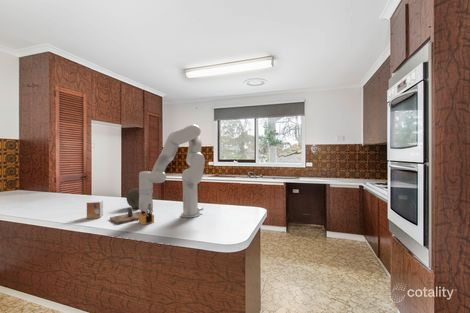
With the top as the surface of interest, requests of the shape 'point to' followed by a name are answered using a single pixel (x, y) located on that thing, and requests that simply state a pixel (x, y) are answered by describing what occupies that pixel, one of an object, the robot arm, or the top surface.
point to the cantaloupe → (133, 197)
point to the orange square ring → (144, 219)
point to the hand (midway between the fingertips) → (146, 220)
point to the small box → (94, 209)
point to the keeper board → (126, 217)
